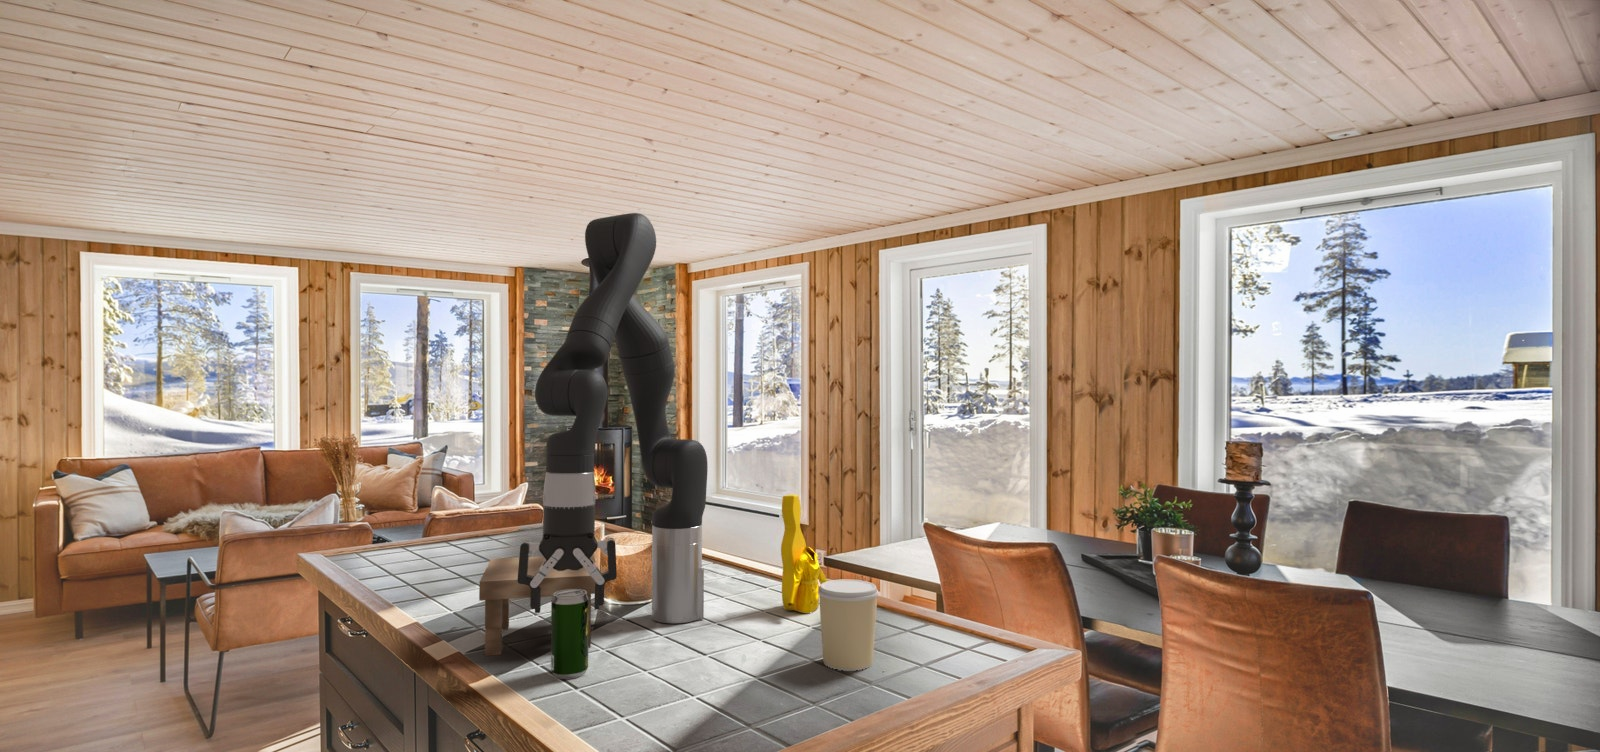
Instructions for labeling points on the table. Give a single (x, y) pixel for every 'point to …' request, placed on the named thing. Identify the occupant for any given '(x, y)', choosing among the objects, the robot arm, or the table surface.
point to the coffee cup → (848, 623)
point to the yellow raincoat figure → (798, 562)
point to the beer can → (569, 633)
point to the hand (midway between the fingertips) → (567, 610)
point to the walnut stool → (522, 593)
